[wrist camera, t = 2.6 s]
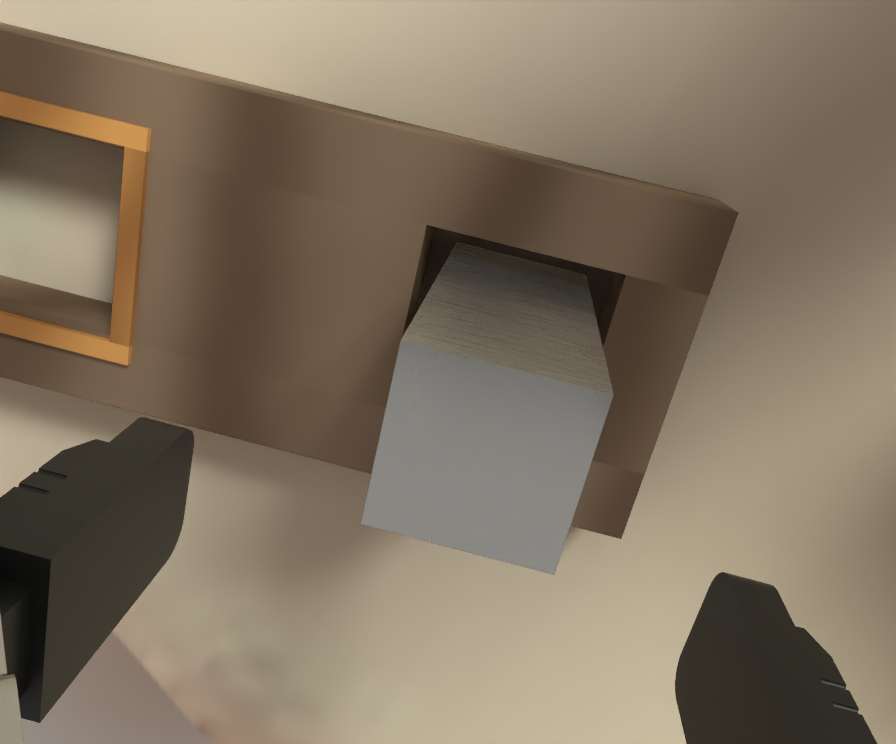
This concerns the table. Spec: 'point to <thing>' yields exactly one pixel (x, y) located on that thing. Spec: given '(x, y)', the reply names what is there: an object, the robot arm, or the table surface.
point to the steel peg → (493, 411)
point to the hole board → (326, 259)
